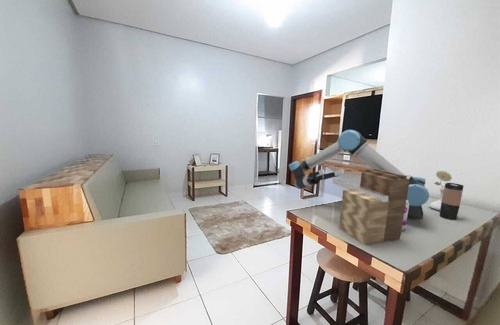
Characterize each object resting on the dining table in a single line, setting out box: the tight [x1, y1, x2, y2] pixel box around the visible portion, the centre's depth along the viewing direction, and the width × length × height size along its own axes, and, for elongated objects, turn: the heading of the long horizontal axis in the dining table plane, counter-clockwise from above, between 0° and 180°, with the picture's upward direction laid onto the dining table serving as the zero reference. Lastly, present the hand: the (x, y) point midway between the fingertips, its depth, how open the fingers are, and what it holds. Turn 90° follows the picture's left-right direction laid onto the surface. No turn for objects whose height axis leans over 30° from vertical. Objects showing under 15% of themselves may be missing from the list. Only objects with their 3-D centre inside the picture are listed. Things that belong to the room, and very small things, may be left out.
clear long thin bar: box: [332, 177, 388, 202], centre depth 98 cm, size 30×3×2 cm, turn 17°
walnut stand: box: [338, 168, 410, 246], centre depth 96 cm, size 16×20×30 cm
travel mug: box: [439, 182, 464, 221], centre depth 118 cm, size 8×8×20 cm
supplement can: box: [401, 200, 409, 232], centre depth 104 cm, size 8×8×15 cm
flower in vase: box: [428, 170, 453, 211], centre depth 131 cm, size 13×11×25 cm
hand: (333, 171), depth 115 cm, fingers open, 13 cm apart
